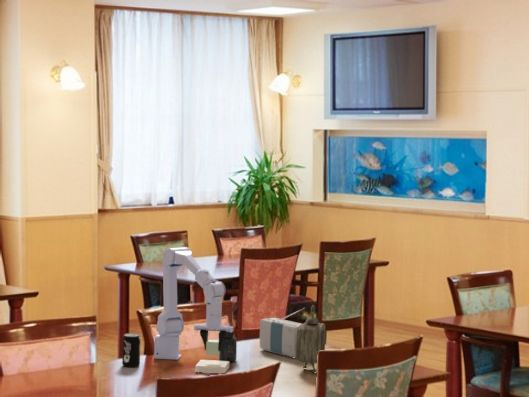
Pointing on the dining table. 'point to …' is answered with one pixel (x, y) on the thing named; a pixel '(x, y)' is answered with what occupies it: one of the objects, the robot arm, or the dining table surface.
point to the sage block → (212, 347)
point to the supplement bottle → (228, 348)
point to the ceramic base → (212, 366)
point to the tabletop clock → (310, 340)
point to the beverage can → (131, 350)
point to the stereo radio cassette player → (279, 335)
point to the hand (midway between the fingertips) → (212, 350)
